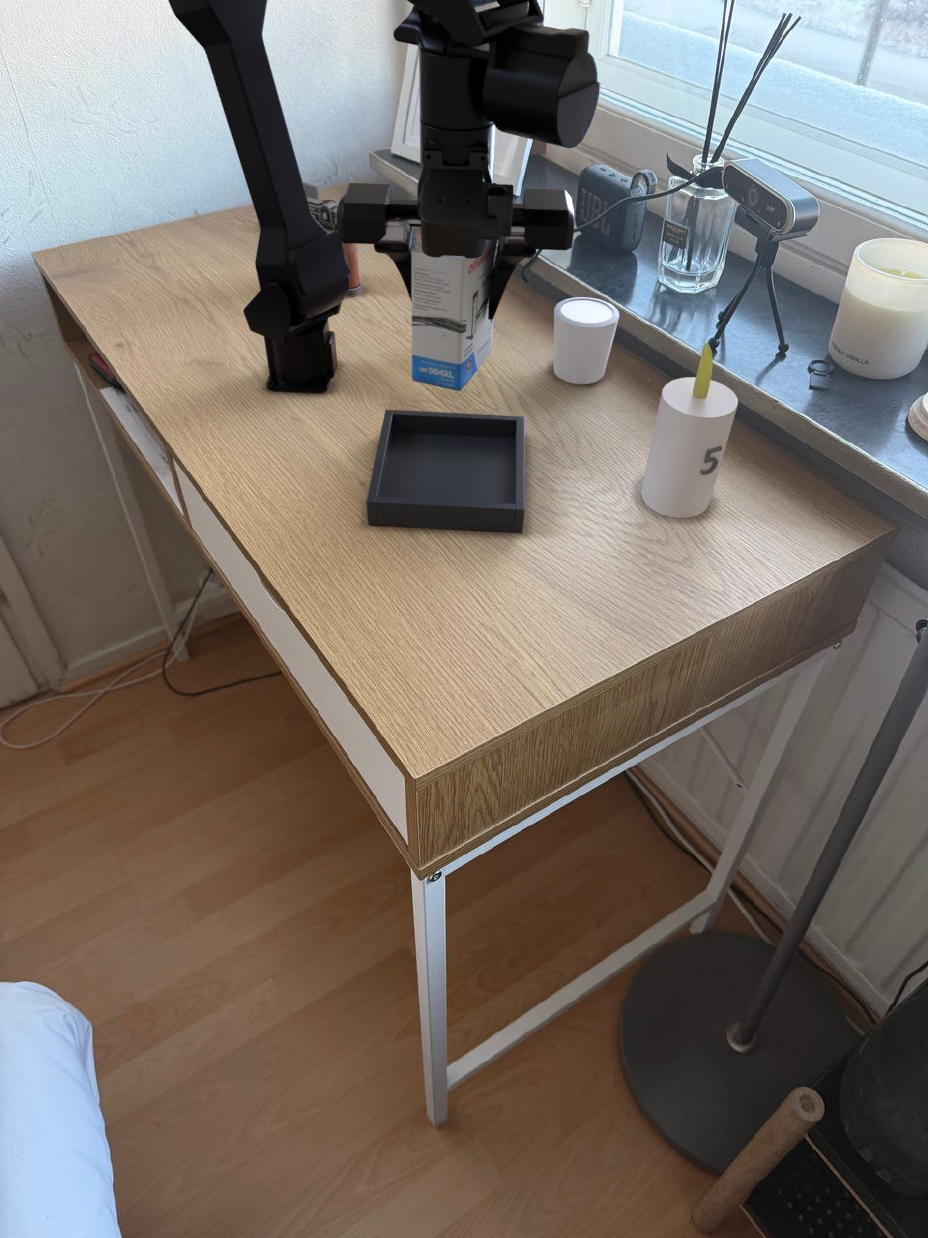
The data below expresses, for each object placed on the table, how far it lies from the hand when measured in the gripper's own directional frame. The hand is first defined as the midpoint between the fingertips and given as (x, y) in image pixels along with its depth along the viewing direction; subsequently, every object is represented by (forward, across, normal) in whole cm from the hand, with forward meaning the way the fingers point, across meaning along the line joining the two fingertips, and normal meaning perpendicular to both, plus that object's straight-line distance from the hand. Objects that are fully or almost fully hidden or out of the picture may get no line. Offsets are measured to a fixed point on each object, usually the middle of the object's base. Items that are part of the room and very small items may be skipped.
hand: (454, 316), depth 76 cm
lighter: (+13, -16, +33) cm, 39 cm away
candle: (+13, +21, -8) cm, 26 cm away
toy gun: (+13, -22, +50) cm, 56 cm away
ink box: (+5, 0, 0) cm, 5 cm away
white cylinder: (+13, +13, +15) cm, 24 cm away
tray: (+13, 0, -6) cm, 14 cm away
